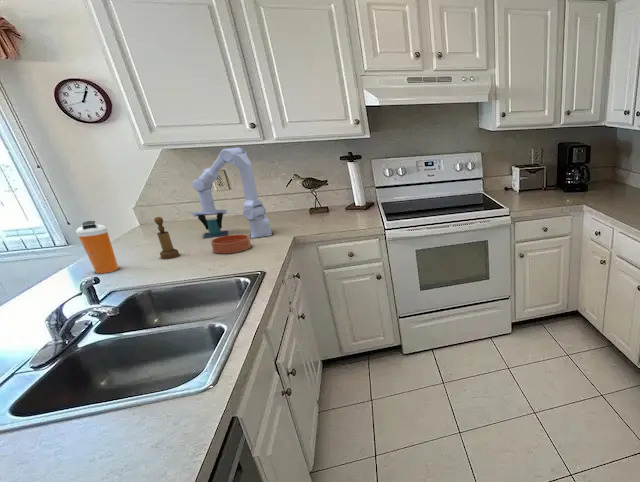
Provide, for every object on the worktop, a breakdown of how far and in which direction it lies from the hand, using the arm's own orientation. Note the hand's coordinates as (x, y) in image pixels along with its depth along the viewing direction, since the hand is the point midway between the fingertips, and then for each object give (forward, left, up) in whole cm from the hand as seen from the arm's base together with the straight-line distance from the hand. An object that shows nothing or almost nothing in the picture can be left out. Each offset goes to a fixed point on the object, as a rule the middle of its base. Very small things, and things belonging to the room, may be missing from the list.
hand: (214, 228), depth 215 cm
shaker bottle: (+36, +40, -3) cm, 54 cm away
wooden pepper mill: (+16, +32, -3) cm, 36 cm away
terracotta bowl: (-8, +34, -3) cm, 35 cm away
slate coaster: (0, 0, -3) cm, 3 cm away
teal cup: (0, 0, -3) cm, 3 cm away
